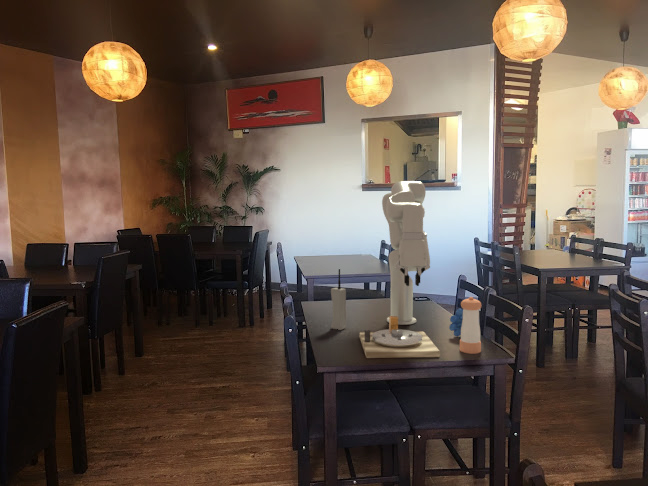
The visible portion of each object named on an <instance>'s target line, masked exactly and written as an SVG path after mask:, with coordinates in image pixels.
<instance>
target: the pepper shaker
mask: <svg viewBox="0 0 648 486" xmlns="http://www.w3.org/2000/svg"><path fill="white" fill-rule="evenodd" d="M460 306H461V309H463V321H462V327H461V335H460V339H459V351H460V352H461V353H465V354H471V355H473V354H474V355H475V354H480V353H481V351H482V342H481V327H480V321H479V320H480V309H481V308H482V307H483V306H482V302H481V301H480V300H478V299H476V298H474V297H473V296H470V297H468V298H465V299H463V300H462V301H461V302H460Z"/></svg>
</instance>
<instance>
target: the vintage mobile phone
mask: <svg viewBox="0 0 648 486" xmlns="http://www.w3.org/2000/svg"><path fill="white" fill-rule="evenodd" d="M337 283H338V285H337V286H338V287H333V288H330V294H331V295H330V296H331V302H332V322H331V324H330V325H331V326H330V328H331V329H333V330H337V329H338V331H342V330H345V329H346V328H347V290H346V288H343V287H341V269H339V268H338V282H337Z"/></svg>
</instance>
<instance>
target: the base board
mask: <svg viewBox="0 0 648 486" xmlns="http://www.w3.org/2000/svg"><path fill="white" fill-rule="evenodd" d="M374 332H375V331H371V330H370V329H365V330H364V331H363V332H362V331H360V332H359V340H360V343H361V346H362V349H363V352H364V355H365V358H367V359H377V358H378V359H379V358H380V359H382V358H383V359H385V358H387V359H389V358H390V359H391V358H394V359H395V358H440V357H441V351H440V349H438V347H437V346H436V345H435V343H434V342H433V341H432V340H431V338H430V337H429V336H428V335H427V334H426V332H424V330H423V331H420V330H419V331H416V332H417V333H419V334H421V335H422V342H421V343H420V344H418V345H415V346H410V347H390V346H384V345H380V344H377V343H375V342H373V340H372V334H373V333H374Z"/></svg>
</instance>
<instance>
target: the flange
mask: <svg viewBox="0 0 648 486" xmlns="http://www.w3.org/2000/svg"><path fill="white" fill-rule="evenodd" d="M388 317H389V322H388V323H389V324H388V327H389V328H388V329H381V330H378V331H373V332H374V333H373V334H372V340H373V342H375V343H377V344H380V345H384V346H390V347H410V346H415V345H418V344H420V343H421V342H422V335H421V334H419V333H417V331H413V330H409V329H401V328H399V325H398V317H397V316H391V315H389V316H388Z"/></svg>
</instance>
